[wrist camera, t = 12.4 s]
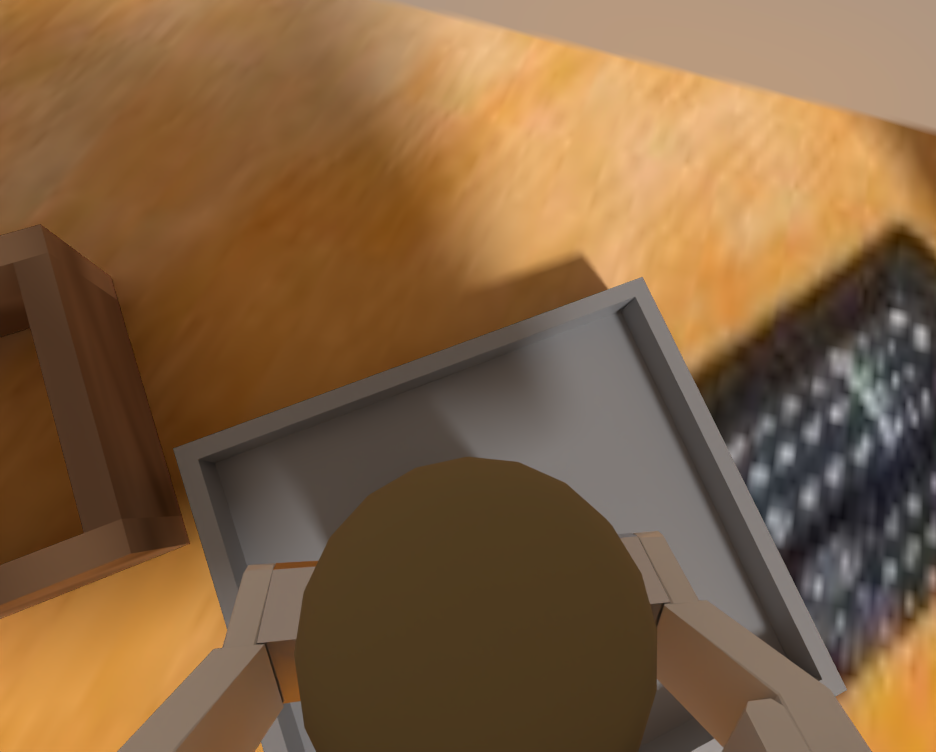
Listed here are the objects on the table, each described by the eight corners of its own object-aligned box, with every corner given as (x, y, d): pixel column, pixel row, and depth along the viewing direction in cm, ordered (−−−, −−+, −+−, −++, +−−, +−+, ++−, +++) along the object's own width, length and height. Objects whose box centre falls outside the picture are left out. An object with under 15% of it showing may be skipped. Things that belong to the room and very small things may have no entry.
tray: (617, 301, 22) (642, 276, 20) (793, 667, 20) (846, 689, 17) (203, 455, 19) (172, 448, 17) (344, 909, 17) (331, 977, 14)
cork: (379, 447, 18) (324, 362, 7) (556, 495, 18) (762, 480, 7) (321, 643, 16) (141, 905, 6) (515, 693, 16) (697, 1038, 6)
